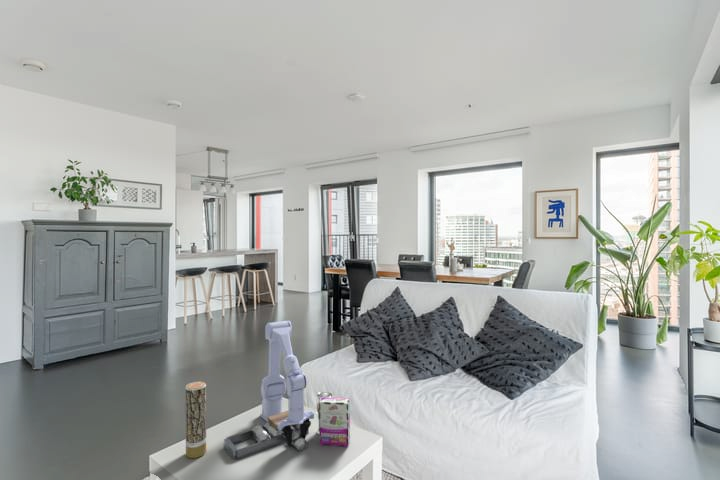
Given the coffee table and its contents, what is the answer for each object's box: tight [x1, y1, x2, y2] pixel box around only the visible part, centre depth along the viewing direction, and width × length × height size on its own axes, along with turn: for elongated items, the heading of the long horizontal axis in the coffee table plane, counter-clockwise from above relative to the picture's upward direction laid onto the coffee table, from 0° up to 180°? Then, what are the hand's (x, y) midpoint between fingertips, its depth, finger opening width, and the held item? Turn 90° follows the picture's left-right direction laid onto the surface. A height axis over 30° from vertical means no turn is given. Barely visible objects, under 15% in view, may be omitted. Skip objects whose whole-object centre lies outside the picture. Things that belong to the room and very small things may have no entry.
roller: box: [291, 431, 308, 452], centre depth 140 cm, size 8×4×4 cm, turn 38°
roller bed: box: [223, 421, 310, 460], centre depth 145 cm, size 11×30×4 cm, turn 128°
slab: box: [268, 410, 296, 431], centre depth 150 cm, size 9×12×2 cm
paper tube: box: [185, 381, 207, 459], centre depth 135 cm, size 7×7×25 cm
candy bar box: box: [319, 397, 351, 447], centre depth 143 cm, size 11×5×16 cm, turn 83°
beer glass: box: [315, 391, 334, 436], centre depth 150 cm, size 7×7×15 cm
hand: (296, 442), depth 140 cm, fingers open, 5 cm apart
